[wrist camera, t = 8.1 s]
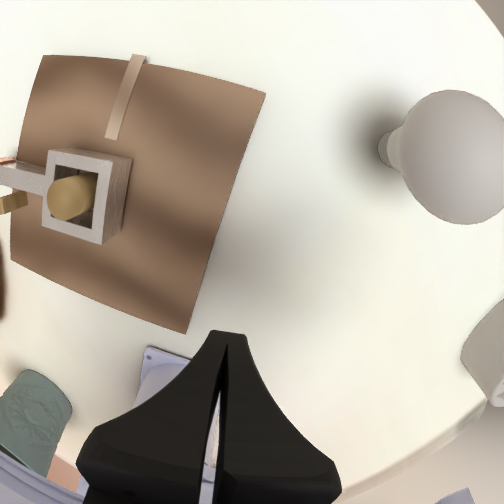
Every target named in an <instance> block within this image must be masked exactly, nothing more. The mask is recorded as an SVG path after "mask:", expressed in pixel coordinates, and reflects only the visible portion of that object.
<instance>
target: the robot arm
mask: <svg viewBox="0 0 504 504" xmlns="http://www.w3.org/2000/svg"><path fill="white" fill-rule="evenodd" d="M148 355H150V356H151V357H149V356H148ZM219 409H220V414H219V446H218V455H217V463H216V469H215V468H212V467H211V462H212V454H213V446H214V438H215V430H216V422H217V415H218V411H219ZM76 466H77V468H78V470H79V472H80V473H81V478H80V481H79V485H78V488H77V493H75V492H73V491H71V490H68V489H66V488H64V487H62V486H60V485H58V484H56V483H54V482H52V481H50V480H48V479H46V478H44V477H42V476H41V475H39V474H37V473H35V472H33V471H32V470H30V469H28V468H26V467H25V466H23V465H22V464H20V463H18V462H17V461H15V460H13V459H12V458H10V457H9V456H7V455H6V454H4V453H3V452H1V451H0V504H331V503H332V502H333V501H334V500H336V499H337V498H338V496H339V495H340V494H341V493H342V486H341V481H340V477H339V474H338V472H337V469H336V466H335V464H334V462H333V461H332V460H331V459H330V458H328V457H327V456H326V455H324V454H323V453H322V452H321V451H319V450H318V449H317V448H316V447H314V446H313V445H312V444H311V443H310V442H309V441H308V440H307V439H306V438H305V437H304V436H303V435H302V434H301V433H300V432H299V431H298V430H297V429H296V428H295V427H294V425H293V424H292V423H291V422H290V421H289V420H288V419H287V417H286V416H285V415H284V414H283V412H282V411H281V410H280V408H279V407H278V405H277V404H276V402H275V401H274V399H273V398H272V396H271V395H270V393H269V391H268V390H267V388H266V386H265V384H264V382H263V380H262V378H261V376H260V374H259V372H258V370H257V368H256V365H255V363H254V360H253V358H252V355H251V352H250V349H249V345H248V341H247V337H246V336H245V335H244V334H238V333H231V332H225V331H218V330H212V331H210V333H209V335H208V337H207V339H206V340H205V342H204V343H203V345H202V346H201V348H200V349H199V351H198V352H197V353H196V354H195V356H194V357H193V358H192V359H191V360H188V359H185V358H182V357H179V356H176V355H173V354H170V353H167V352H164V351H161V350H158V349H156V348H153V347H147V348H146V349H145V352H144V358H143V364H142V371H141V377H140V384H139V392H138V394H137V397H136V399H135V402H134V404H133V407H132V409H131V410H130V411H128V412H127V413H125V414H123V415H121V416H119V417H117V418H115V419H113V420H110V421H108V422H106V423H104V424H101V425H99V426H96V427H95V428H94V429H93V431H92V432H91V434H90V435H89V436H88V438H87V439H86V441H85V442H84V444H83V446H82V449H81V451H80V453H79V455H78V458H77V460H76ZM435 504H475V503H474V501H473V498H472V496H471V494H470V491H469V489H468V488H464V489H462V490H460V491H457V492H455V493H452V494H450V495H448V496H446V497H444V498H442V499H441V500H439V501H438V502H436V503H435Z"/></svg>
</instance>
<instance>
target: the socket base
mask: <svg viewBox="0 0 504 504" xmlns="http://www.w3.org/2000/svg"><path fill="white" fill-rule="evenodd" d="M145 57H146V56H143V55H135V54H132V57H131V59H130V61H126V60H118V59H109V58H98V57H85V56H63V55H43V58H42V60H41V63H40V66H39V69H38V72H37V75H36V78H35V81H34V84H33V87H32V91H31V94H30V98H29V101H28V105H27V109H26V113H25V117H24V121H23V126H22V131H21V136H20V141H19V146H18V152H17V158H16V162H21V163H26V164H31V165H35V166H40V167H45V168H46V164H47V157H48V150H52V149H61V148H78V149H84V150H89V151H95V152H100V153H106V154H111V155H116V156H121V157H126V158H130V159H132V163H131V168H130V173H129V179H128V184H127V190H126V196H125V202H124V208H123V215H122V222H121V229H120V232H119V233H118V234H116V235H115V236H113V237H112V238H111V239H109V240H108V241H106V242H105V243H104V244H102V245H99V244H96V243H93V242H90V241H87V240H84V239H80V238H77V237H74V236H71V235H68V234H65V233H62V232H59V231H56V230H53V229H50V228H47V227H44V226H42V207H43V196H41V195H37V194H34V193H30V192H26V191H23V190H19V189H15V188H13V192H12V194H10V195H6V196H3V197H1V198H0V215H1V214H6V213H8V212H10V211H11V227H10V252H11V260H12V261H14V262H16V263H18V264H20V265H22V266H24V267H26V268H27V269H29V270H31V271H33V272H35V273H37V274H39V275H41V276H43V277H45V278H47V279H49V280H51V281H53V282H55V283H58V284H60V285H62V286H64V287H66V288H68V289H70V290H73V291H75V292H77V293H79V294H81V295H84V296H86V297H88V298H91V299H93V300H95V301H98V302H100V303H102V304H105V305H107V306H109V307H112V308H114V309H117V310H119V311H122V312H124V313H127V314H129V315H132V316H135V317H137V318H140V319H142V320H145V321H148V322H151V323H153V324H156V325H159V326H162V327H164V328H167V329H170V330H173V331H176V332H179V333H182V334H186V331H187V329H188V325H189V322H190V318H191V315H192V311H193V308H194V305H195V301H196V298H197V295H198V291H199V288H200V285H201V282H202V278H203V275H204V272H205V269H206V265H207V262H208V259H209V256H210V253H211V250H212V246H213V243H214V240H215V237H216V234H217V231H218V228H219V225H220V222H221V219H222V216H223V213H224V210H225V207H226V204H227V201H228V198H229V195H230V192H231V189H232V186H233V183H234V180H235V178H236V175H237V172H238V169H239V166H240V163H241V160H242V158H243V155H244V152H245V149H246V146H247V144H248V141H249V138H250V135H251V133H252V130H253V127H254V125H255V122H256V119H257V117H258V114H259V111H260V109H261V106H262V103H263V101H264V98H265V95H266V93H264V92H261V91H258V90H255V89H252V88H248V87H245V86H242V85H238V84H235V83H232V82H228V81H224V80H221V79H217V78H213V77H209V76H205V75H201V74H197V73H193V72H188V71H184V70H179V69H174V68H169V67H164V66H158V65H153V64H147V63H143V62H144V60H145ZM98 175H99V173H95V172H90V171H86V170H81V169H78V170H77V175H75V176H70V177H66V178H63V179H59V180H56V181H54V182H53V183H52V184H51V185H50V187H49V189H48V192H47V205H48V208H49V211H50V212H51V214H52V215H53V216H54V217H55V218H56V219H58V220H61V221H66V220H69V219H71V218H73V217H75V216H77V215H79V214H81V213H83V212H85V211H89V212H92V213H93V211H94V203H95V195H96V188H97V181H98Z"/></svg>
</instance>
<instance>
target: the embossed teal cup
mask: <svg viewBox="0 0 504 504" xmlns="http://www.w3.org/2000/svg"><path fill="white" fill-rule="evenodd" d="M71 413H72V406H71V405H70V402H69V400H68V399H67V398H66V396H65V395H64V394H63V392H62V391H61V390H60V389H59V388H58V387H57V386H56V385H55V384H54V383H53V382H51V381H50V380H49V379H48V378H46V377H45V376H43V375H41V374H40V373H38V372H35V371H32V370H25V371H23V372H22V373H21V374H20V375H19V376H18V377H17V379H16V380H15V381H14V382H13V383H12V384H11V385H10V386H9V387H8V388H7V389H6V391H5V392H4V393H3V396H1V397H0V451H1V452H3V453H4V454H6V455H7V456H9V457H10V458H12V459H13V460H15V461H17V462H18V463H20V464H22V465H23V466H25V467H26V468H28V469H30V470H32V471H33V472H35V473H37V474H39V475H41V476H42V477H44V478H46V477H47V474H48V471H49V468H50V465H51V461H52V458H53V456H54V453H55V451H56V448H57V444H58V442H59V441H60V438H61V436H62V433H63V430H64V428H65V425H66V424H67V422H68V420H69V418H70V416H71Z"/></svg>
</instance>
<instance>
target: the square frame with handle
mask: <svg viewBox="0 0 504 504" xmlns="http://www.w3.org/2000/svg"><path fill="white" fill-rule="evenodd" d="M131 163H132V159H130V158H126V157H121V156H116V155H111V154H106V153H100V152H95V151H89V150H84V149H78V148H61V149H52V150H48V157H47V164H46V168H45V167H40V166H35V165H31V164H26V163H21V162H16V159H13V158H7V157H3V158H0V185H4V186H8V187H12V188H15V189H19V190H23V191H26V192H30V193H34V194H37V195H41V196H43V207H42V226H44V227H47V228H50V229H53V230H56V231H59V232H62V233H65V234H68V235H71V236H74V237H77V238H80V239H84V240H87V241H90V242H93V243H96V244H99V245H102V244H104V243H105V242H106V241H108V240H109V239H111V238H112V237H113V236H115V235H116V234H118V233H119V232H120V229H121V222H122V215H123V208H124V202H125V196H126V190H127V184H128V179H129V173H130V168H131ZM78 169H81V170H86V171H90V172H95V173H99V175H98V181H97V188H96V195H95V203H94V211H93V213H92V212H89V211H85V212H83V213H81V214H79V215H77V216H75V217H73V218H71V219H69V220H66V221H61V220H58V219H56V218H55V217H54V216H53V215H52V214H51V212H50V211H49V208H48V205H47V192H48V189H49V187H50V185H51V184H52V183H53V182H54V181H56V180H59V179H63V178H66V177H70V176H75V175H77V170H78Z"/></svg>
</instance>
